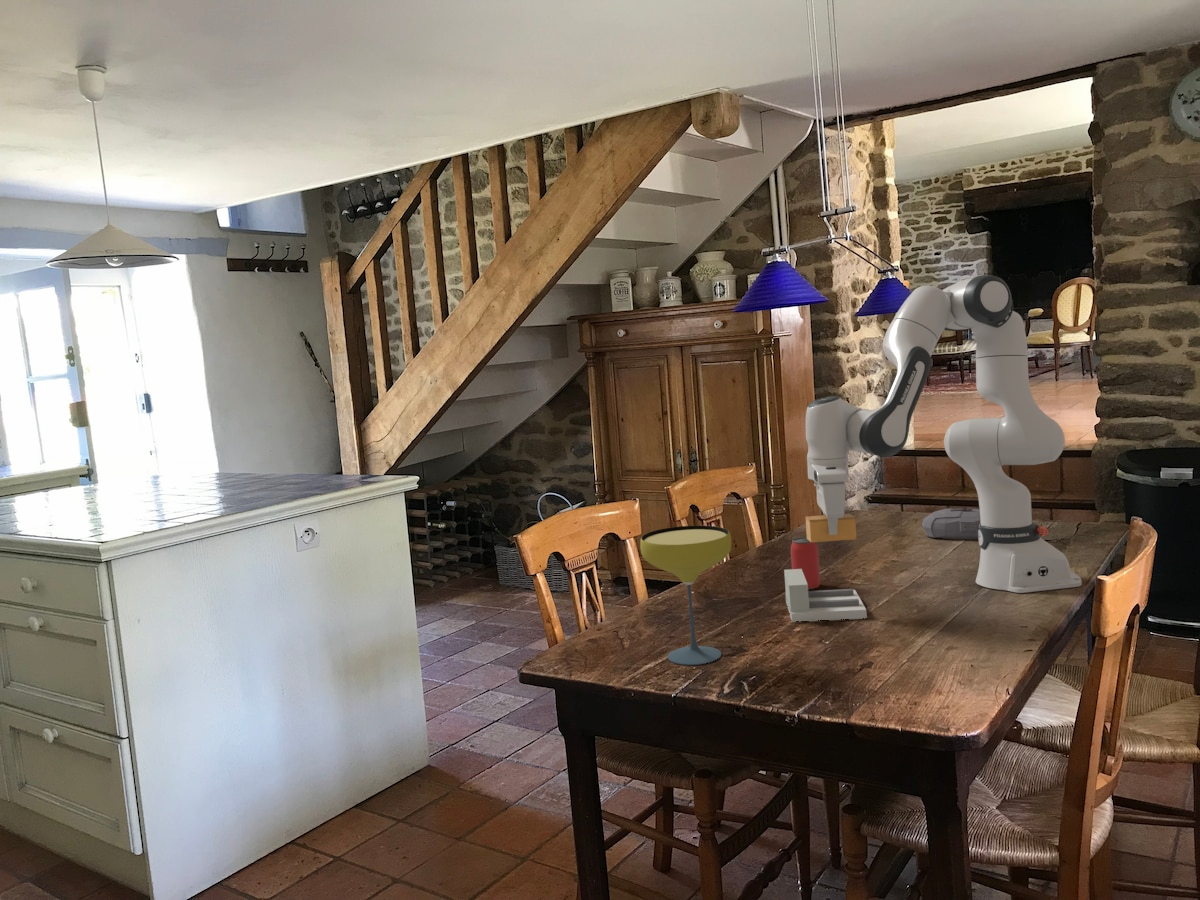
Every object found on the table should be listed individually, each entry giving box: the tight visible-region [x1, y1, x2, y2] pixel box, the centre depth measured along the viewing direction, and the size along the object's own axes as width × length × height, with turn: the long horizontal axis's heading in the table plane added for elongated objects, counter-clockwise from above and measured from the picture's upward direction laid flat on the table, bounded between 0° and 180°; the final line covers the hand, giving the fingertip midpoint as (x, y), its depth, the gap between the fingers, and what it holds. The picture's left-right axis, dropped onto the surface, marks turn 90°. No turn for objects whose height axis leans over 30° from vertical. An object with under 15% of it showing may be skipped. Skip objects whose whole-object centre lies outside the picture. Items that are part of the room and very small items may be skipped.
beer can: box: [790, 536, 821, 591], centre depth 232 cm, size 7×7×12 cm
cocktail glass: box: [639, 525, 732, 666], centre depth 188 cm, size 18×18×25 cm
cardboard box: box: [805, 513, 857, 543], centre depth 210 cm, size 10×5×5 cm, turn 88°
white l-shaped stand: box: [783, 568, 868, 623], centre depth 212 cm, size 16×16×8 cm
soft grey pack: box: [921, 506, 980, 541], centre depth 272 cm, size 15×8×20 cm
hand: (831, 531), depth 210 cm, fingers closed on cardboard box, 5 cm apart
